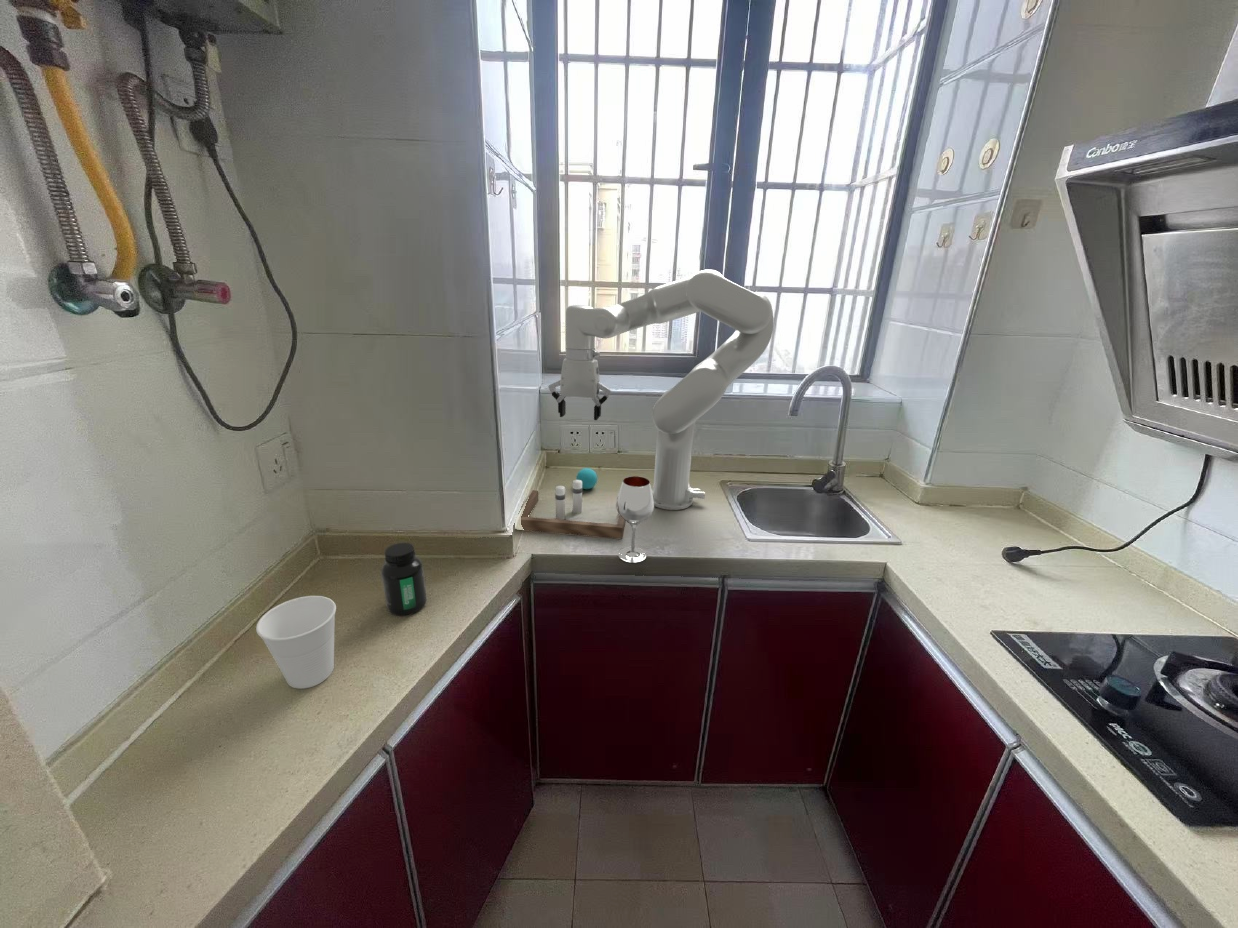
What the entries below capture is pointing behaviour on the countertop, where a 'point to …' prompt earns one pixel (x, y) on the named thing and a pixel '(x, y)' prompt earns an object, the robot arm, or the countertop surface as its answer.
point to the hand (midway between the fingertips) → (579, 417)
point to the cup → (301, 639)
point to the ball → (587, 478)
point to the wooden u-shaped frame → (568, 524)
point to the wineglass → (634, 511)
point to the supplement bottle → (403, 580)
